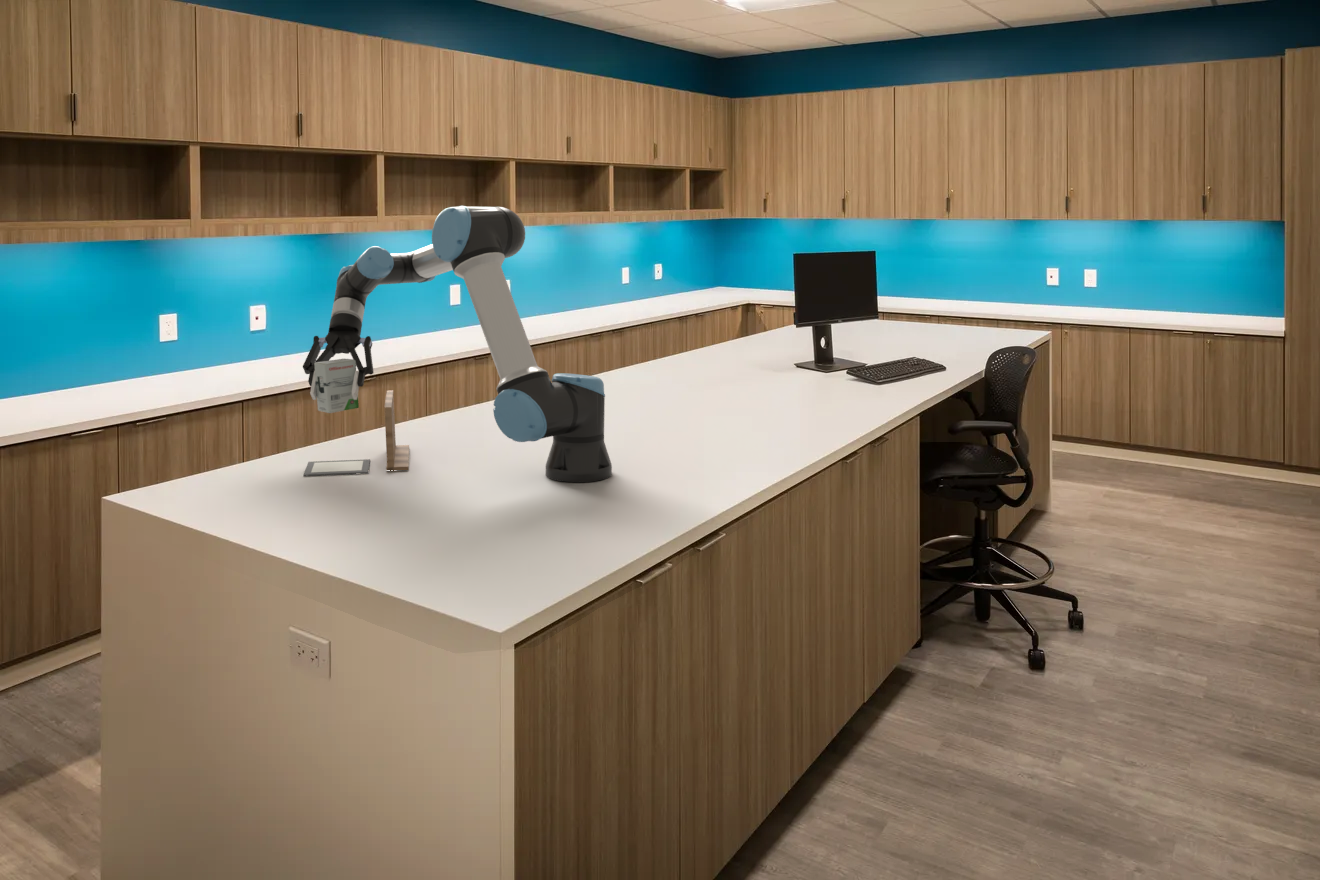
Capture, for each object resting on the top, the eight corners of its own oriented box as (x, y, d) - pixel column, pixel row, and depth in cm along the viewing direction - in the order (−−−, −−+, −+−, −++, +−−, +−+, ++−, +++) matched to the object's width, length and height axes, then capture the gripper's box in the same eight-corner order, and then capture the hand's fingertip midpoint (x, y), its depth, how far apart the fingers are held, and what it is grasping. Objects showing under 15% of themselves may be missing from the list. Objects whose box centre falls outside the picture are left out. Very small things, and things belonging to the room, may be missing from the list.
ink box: (347, 405, 253) (345, 357, 250) (359, 408, 250) (357, 359, 247) (316, 410, 247) (313, 361, 244) (328, 413, 243) (325, 363, 241)
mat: (368, 473, 237) (367, 471, 237) (303, 476, 234) (303, 474, 233) (370, 460, 248) (370, 458, 248) (308, 463, 245) (308, 461, 245)
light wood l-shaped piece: (408, 470, 240) (406, 406, 236) (386, 471, 238) (383, 407, 235) (409, 448, 260) (406, 389, 257) (388, 449, 259) (385, 390, 256)
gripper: (393, 330, 260) (383, 405, 248) (305, 330, 259) (291, 405, 247) (388, 311, 254) (377, 387, 242) (298, 310, 253) (282, 387, 241)
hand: (333, 396), depth 244 cm, fingers closed on ink box, 9 cm apart
